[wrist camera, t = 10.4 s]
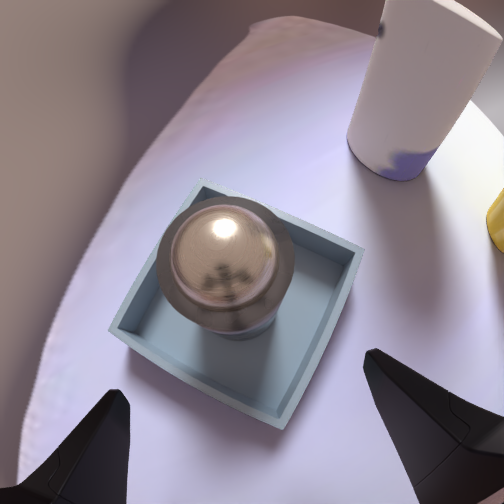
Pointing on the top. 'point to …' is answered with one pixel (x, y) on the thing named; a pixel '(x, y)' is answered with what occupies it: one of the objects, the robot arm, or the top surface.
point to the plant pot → (497, 221)
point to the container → (418, 83)
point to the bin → (257, 349)
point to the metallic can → (226, 266)
